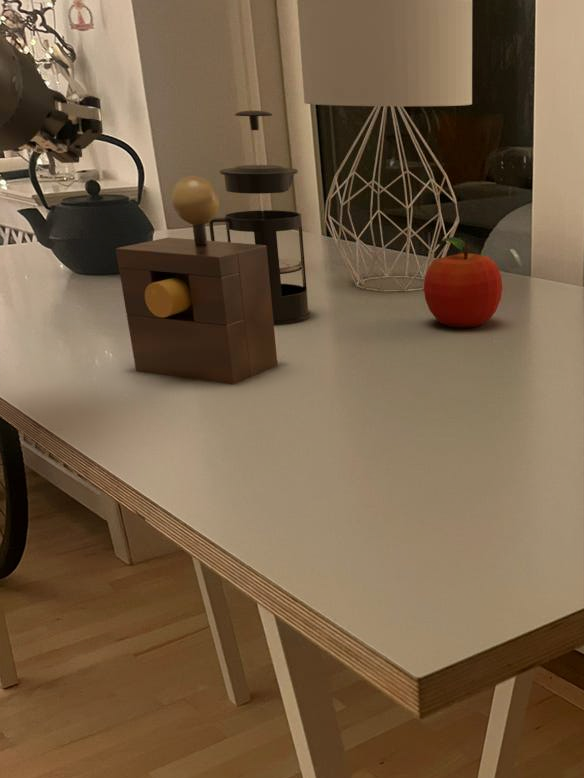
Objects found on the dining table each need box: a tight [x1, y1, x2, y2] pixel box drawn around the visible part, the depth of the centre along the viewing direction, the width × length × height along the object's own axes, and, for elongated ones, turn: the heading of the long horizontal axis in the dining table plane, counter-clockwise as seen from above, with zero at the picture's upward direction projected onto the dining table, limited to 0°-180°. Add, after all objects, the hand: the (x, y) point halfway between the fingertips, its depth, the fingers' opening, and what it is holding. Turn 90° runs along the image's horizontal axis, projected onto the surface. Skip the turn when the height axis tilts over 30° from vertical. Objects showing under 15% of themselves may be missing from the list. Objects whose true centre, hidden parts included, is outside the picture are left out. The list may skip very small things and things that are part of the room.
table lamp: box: [296, 0, 473, 292], centre depth 134 cm, size 22×22×40 cm
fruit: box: [423, 236, 503, 329], centre depth 119 cm, size 10×10×10 cm
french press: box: [208, 110, 311, 326], centre depth 118 cm, size 12×9×23 cm
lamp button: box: [145, 278, 191, 317], centre depth 95 cm, size 3×3×3 cm
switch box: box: [115, 175, 278, 385], centre depth 98 cm, size 8×12×18 cm, turn 67°
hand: (70, 150), depth 87 cm, fingers closed
